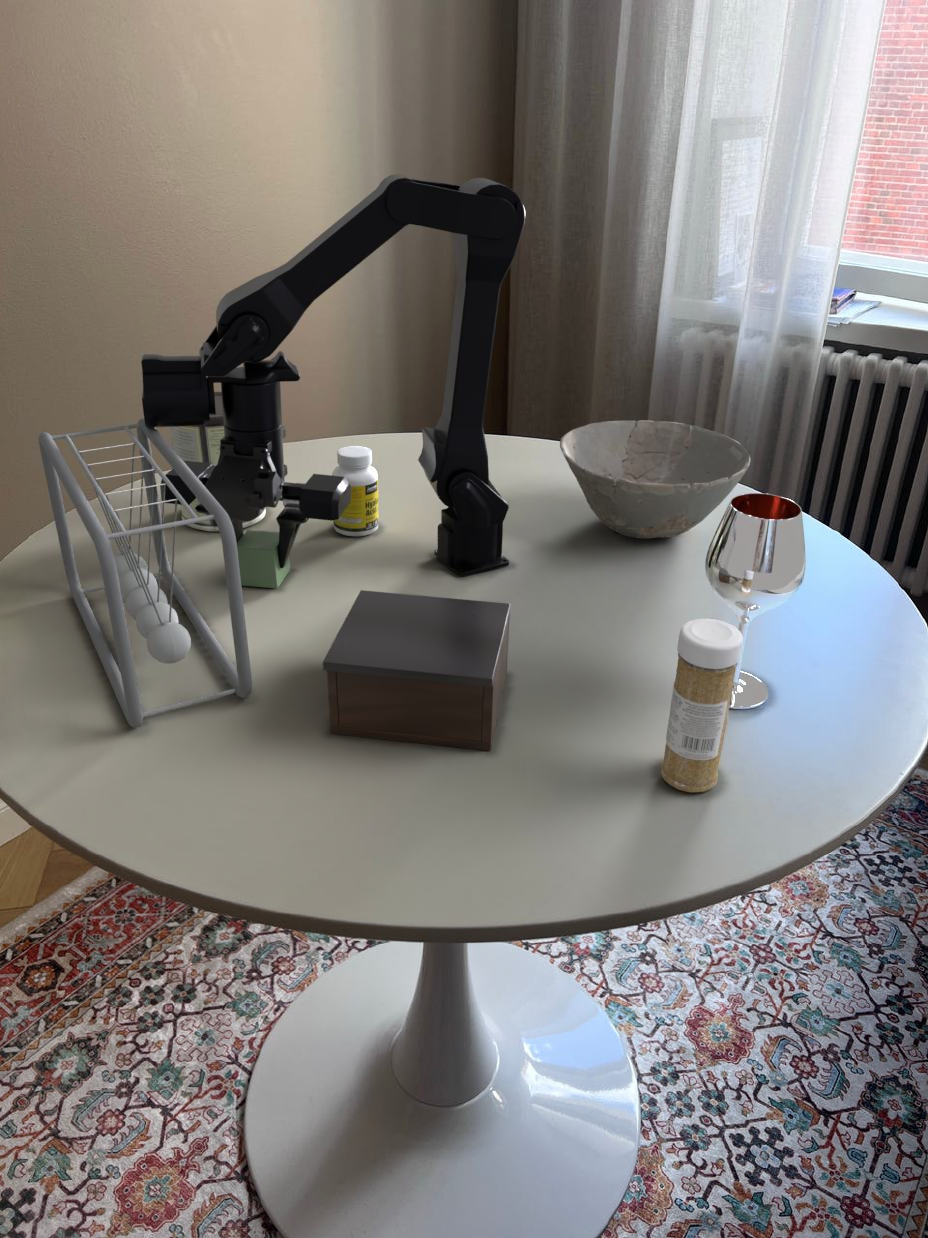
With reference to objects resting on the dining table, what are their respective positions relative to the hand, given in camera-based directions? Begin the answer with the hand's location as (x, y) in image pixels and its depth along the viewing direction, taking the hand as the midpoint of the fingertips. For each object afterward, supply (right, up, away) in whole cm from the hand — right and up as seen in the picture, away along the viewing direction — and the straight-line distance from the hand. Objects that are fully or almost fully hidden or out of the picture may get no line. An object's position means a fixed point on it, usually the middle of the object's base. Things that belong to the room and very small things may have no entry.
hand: (261, 564), depth 106 cm
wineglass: (+46, -12, -16) cm, 50 cm away
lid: (+18, -8, -23) cm, 30 cm away
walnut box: (+18, -13, -19) cm, 29 cm away
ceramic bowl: (+44, +6, +16) cm, 47 cm away
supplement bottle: (+9, +5, +13) cm, 17 cm away
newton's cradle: (-8, -8, -11) cm, 16 cm away
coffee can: (-8, +7, +16) cm, 19 cm away
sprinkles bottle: (+40, -19, -27) cm, 52 cm away
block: (0, -1, +1) cm, 2 cm away
